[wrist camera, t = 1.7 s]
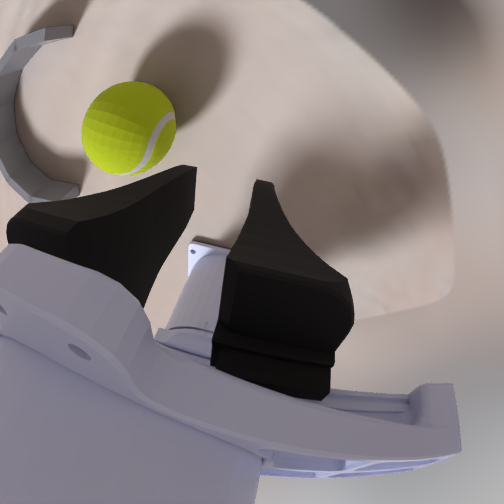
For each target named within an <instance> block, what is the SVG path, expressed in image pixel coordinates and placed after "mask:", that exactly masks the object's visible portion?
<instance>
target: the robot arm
mask: <svg viewBox="0 0 504 504" xmlns="http://www.w3.org/2000/svg"><path fill="white" fill-rule="evenodd" d="M196 173H197V167H193V166H188V165H179V166H176V167H173V168H170V169H168V170H165V171H162V172H160V173H157V174H155V175H152V176H150V177H147V178H144V179H142V180H139V181H136V182H134V183H131V184H128V185H125V186H122V187H119V188H116V189H112V190H109V191H105V192H101V193H96V194H92V195H88V196H83V197H78V198H72V199H66V200H58V201H48V202H37V203H29V204H27V205H26V206H25V207H24V208H22V209H21V210H20V211H19V212H18V213H17V214H16V215H15V216H14V217H12V218H11V219H10V221H9V222H8V224H7V230H6V234H7V240H8V243H9V245H8V246H7V247H6V248H5V249H4V250H3V251H2V252H1V253H0V504H254V503H255V498H256V493H257V488H258V482H259V477H260V475H264V476H277V477H290V478H345V477H362V476H375V475H384V474H393V473H401V472H407V471H413V470H416V469H419V468H422V467H425V466H428V465H431V464H434V463H437V462H439V461H442V460H444V459H447V458H449V457H452V456H454V455H457V454H459V453H460V452H461V451H462V449H461V438H460V437H461V436H460V427H459V419H458V412H457V405H456V399H455V392H454V387H453V384H452V383H426V384H423V385H420V386H419V387H417V388H415V389H414V390H413V391H412V392H411V393H410V394H386V393H371V392H358V391H348V390H339V389H330V379H331V368H332V367H333V366H334V363H335V351H336V349H337V348H338V347H339V346H340V344H341V343H342V341H343V340H344V339H345V338H346V336H347V335H348V333H349V332H350V330H351V328H352V326H353V324H354V305H353V299H352V294H351V290H350V287H349V283H348V279H347V278H346V277H344V276H343V275H342V274H340V273H339V272H337V271H336V270H335V269H333V268H332V267H330V266H329V265H328V264H326V263H325V262H324V261H323V260H322V259H321V258H319V257H318V256H317V255H316V254H315V253H314V252H313V251H312V250H311V249H310V248H309V247H308V246H307V245H306V244H305V243H304V242H303V241H302V240H301V238H300V237H299V236H298V235H297V234H296V232H295V231H294V229H293V228H292V227H291V225H290V224H289V222H288V220H287V218H286V216H285V215H284V213H283V211H282V208H281V206H280V204H279V201H278V199H277V196H276V193H275V189H274V185H273V183H271V182H267V181H262V180H258V179H257V180H256V181H255V183H254V187H253V192H252V198H251V203H250V208H249V213H248V217H247V219H246V222H245V224H244V226H243V228H242V230H241V233H240V235H239V237H238V239H237V240H236V242H235V244H234V246H233V247H232V249H231V250H229V249H225V248H221V247H217V246H213V245H208V244H204V243H200V242H196V241H191V242H190V243H189V245H188V279H187V281H186V284H185V286H184V288H183V290H182V292H181V295H180V297H179V299H178V301H177V303H176V306H175V308H174V310H173V313H172V315H171V317H170V319H169V322H168V324H167V326H166V329H162V328H159V329H158V331H157V333H156V335H155V338H154V339H153V334H152V330H151V325H150V321H149V319H148V317H147V315H146V314H145V312H144V310H143V308H144V306H145V303H146V301H147V298H148V296H149V293H150V291H151V288H152V286H153V284H154V281H155V279H156V277H157V275H158V272H159V271H160V269H161V267H162V265H163V263H164V262H165V260H166V258H167V257H168V255H169V254H170V252H171V250H172V249H173V247H174V246H175V244H176V242H177V241H178V239H179V238H180V236H181V235H182V233H183V231H184V230H185V228H186V226H187V224H188V222H189V220H190V217H191V215H192V213H193V211H194V202H195V187H196ZM193 250H195V251H193Z"/></svg>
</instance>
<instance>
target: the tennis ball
mask: <svg viewBox="0 0 504 504" xmlns="http://www.w3.org/2000/svg"><path fill="white" fill-rule="evenodd" d="M175 133H176V120H175V111H174V108H173V106H172V104H171V102H170V100H169V99H168V98H167V97H166V95H165V94H164V93H163V92H162V91H160V90H159V89H158V88H156V87H154V86H152V85H150V84H147V83H144V82H138V81H132V82H123V83H119V84H116V85H114V86H111V87H110V88H108V89H106V90H105V91H103V92H102V93H100V94H99V95H98V96H97V97H96V99H95V100H94V101H93V102H92V104H91V105H90V107H89V108H88V110H87V112H86V115H85V117H84V121H83V125H82V143H83V147H84V149H85V152H86V154H87V156H88V157H89V159H90V160H91V161H92V162H93V163H94V164H95V165H96V166H97V167H98V168H100V169H101V170H103V171H105V172H108V173H111V174H114V175H120V176H131V175H136V174H139V173H142V172H145V171H147V170H148V169H150V168H152V167H153V166H155V165H156V164H157V163H158V162H160V161H161V160H162V159H163V157H164V156H165V155H166V153H167V152H168V151H169V149H170V147H171V145H172V142H173V140H174V137H175Z"/></svg>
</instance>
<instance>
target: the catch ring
mask: <svg viewBox="0 0 504 504" xmlns="http://www.w3.org/2000/svg"><path fill="white" fill-rule="evenodd" d="M73 29H74V25H67V26H55V27H46V28H43V29H40V30H37V31H35V32H32V33H29V34H27V35H24V36H22V37H19V38H17V39H15V40H14V41H13V42H12V44H11V45H10V46H9V48H8V49H7V51H6V52H5V53H4V55H3V56H2V58H1V59H0V170H1V172H2V174H3V176H4V178H5V180H6V182H7V183H8V184H9V185H10V186H11V187H12V188H13V189H14V190H15V191H16V192H17V193H18V194H19V195H20V196H22V197H23V198H24V199H25V200H26V201H27V202H28V203H37V202H48V201H58V200H66V199H72V198H76V197H78V196H79V195H80V193H79V187H78V184H72V183H67V182H61V181H55V180H51V179H50V178H48V177H47V176H46V175H45V174H44V173H43V172H41V171H40V170H39V169H38V168H37V167H36V166H35V165H33V164H32V163H31V162H30V160H29V158H28V156H27V154H26V152H25V150H24V148H23V146H22V144H21V142H20V140H19V137H18V135H17V132H16V123H15V113H14V97H15V93H16V89H17V86H18V82H19V79H20V75H21V72H22V69H23V68H24V66H25V65H26V64H27V63H28V61H29V60H30V59H31V58H32V57H33V55H34V54H35V53H36V52H37V51H38V50H39V48H40V47H41V46H42V45H44V44H48V43H51V42H55V41H59V40H63V39H67V38H71V37H73Z"/></svg>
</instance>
